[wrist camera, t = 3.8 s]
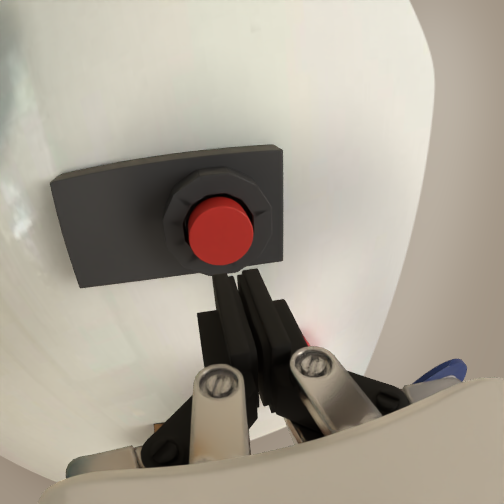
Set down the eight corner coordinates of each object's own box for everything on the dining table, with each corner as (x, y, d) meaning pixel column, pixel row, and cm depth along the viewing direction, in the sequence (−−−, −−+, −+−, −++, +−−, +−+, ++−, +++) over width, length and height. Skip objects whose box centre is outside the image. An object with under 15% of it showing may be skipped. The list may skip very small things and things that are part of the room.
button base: (273, 144, 21) (292, 154, 17) (274, 247, 25) (290, 274, 21) (60, 173, 18) (38, 190, 15) (86, 273, 22) (73, 303, 19)
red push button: (246, 193, 18) (252, 202, 17) (248, 247, 20) (254, 261, 19) (184, 200, 18) (185, 210, 16) (191, 255, 19) (193, 269, 18)
